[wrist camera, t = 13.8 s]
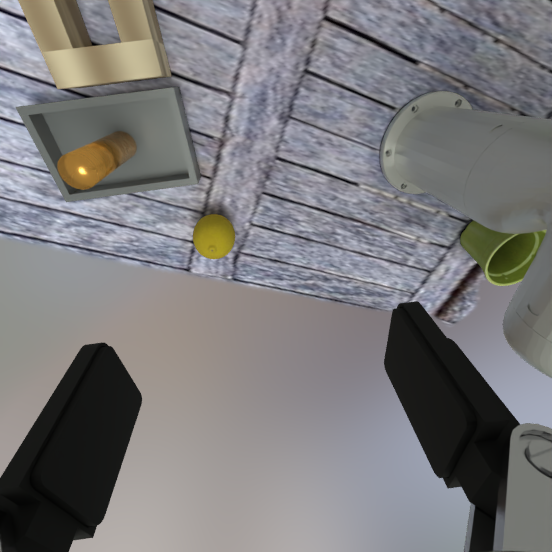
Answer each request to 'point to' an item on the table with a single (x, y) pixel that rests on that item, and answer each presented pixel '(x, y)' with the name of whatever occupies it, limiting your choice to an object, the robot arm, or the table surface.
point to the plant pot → (501, 252)
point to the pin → (96, 160)
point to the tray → (111, 118)
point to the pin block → (103, 58)
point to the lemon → (214, 236)
